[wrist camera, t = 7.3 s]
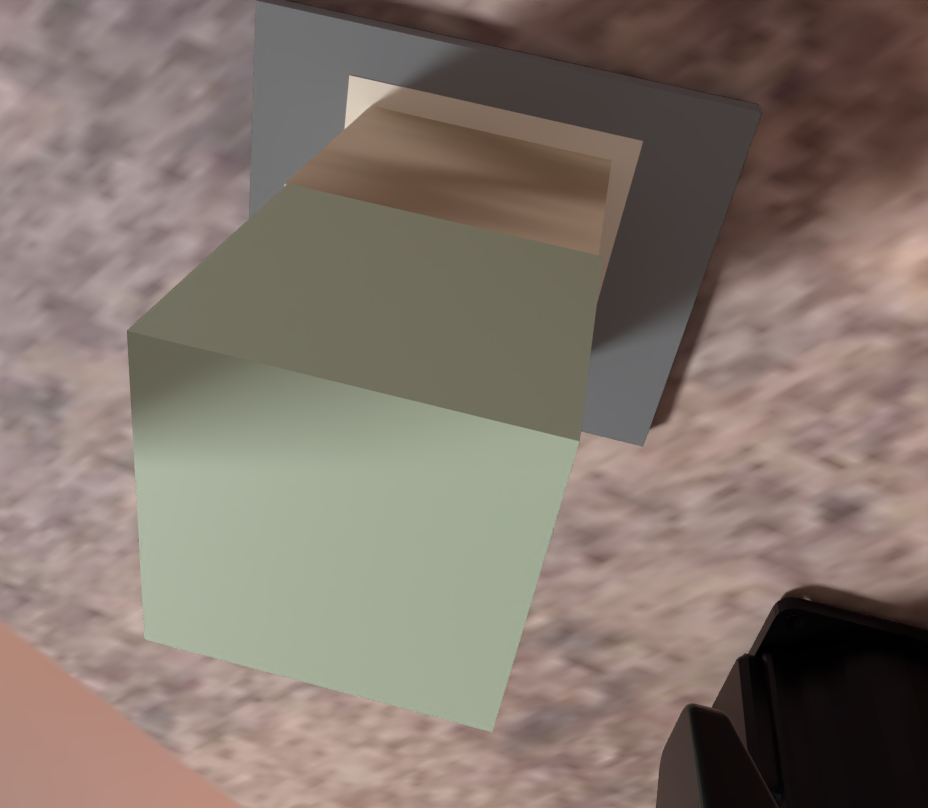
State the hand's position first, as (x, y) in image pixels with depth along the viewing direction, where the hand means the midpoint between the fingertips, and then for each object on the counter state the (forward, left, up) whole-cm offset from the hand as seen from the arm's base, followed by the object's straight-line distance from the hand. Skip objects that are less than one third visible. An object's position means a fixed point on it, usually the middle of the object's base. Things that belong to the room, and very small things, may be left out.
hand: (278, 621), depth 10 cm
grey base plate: (0, 0, -12) cm, 12 cm away
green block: (0, 0, -6) cm, 6 cm away
